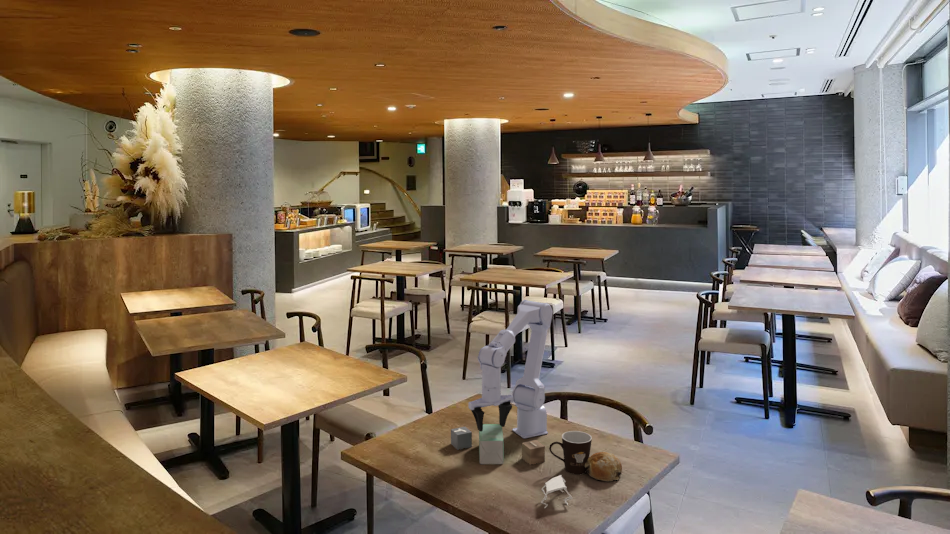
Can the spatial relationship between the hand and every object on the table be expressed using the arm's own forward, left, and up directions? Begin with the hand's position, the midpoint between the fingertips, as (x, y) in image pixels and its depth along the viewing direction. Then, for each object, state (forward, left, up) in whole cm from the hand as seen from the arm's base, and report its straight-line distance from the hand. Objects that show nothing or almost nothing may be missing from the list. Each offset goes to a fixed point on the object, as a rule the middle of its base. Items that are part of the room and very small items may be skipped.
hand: (491, 428), depth 193 cm
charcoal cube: (+6, -9, -8) cm, 14 cm away
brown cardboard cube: (-9, +10, -8) cm, 16 cm away
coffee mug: (-16, +20, -8) cm, 27 cm away
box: (0, +1, -8) cm, 8 cm away
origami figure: (-3, +33, -8) cm, 34 cm away
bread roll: (-22, +27, -8) cm, 36 cm away
